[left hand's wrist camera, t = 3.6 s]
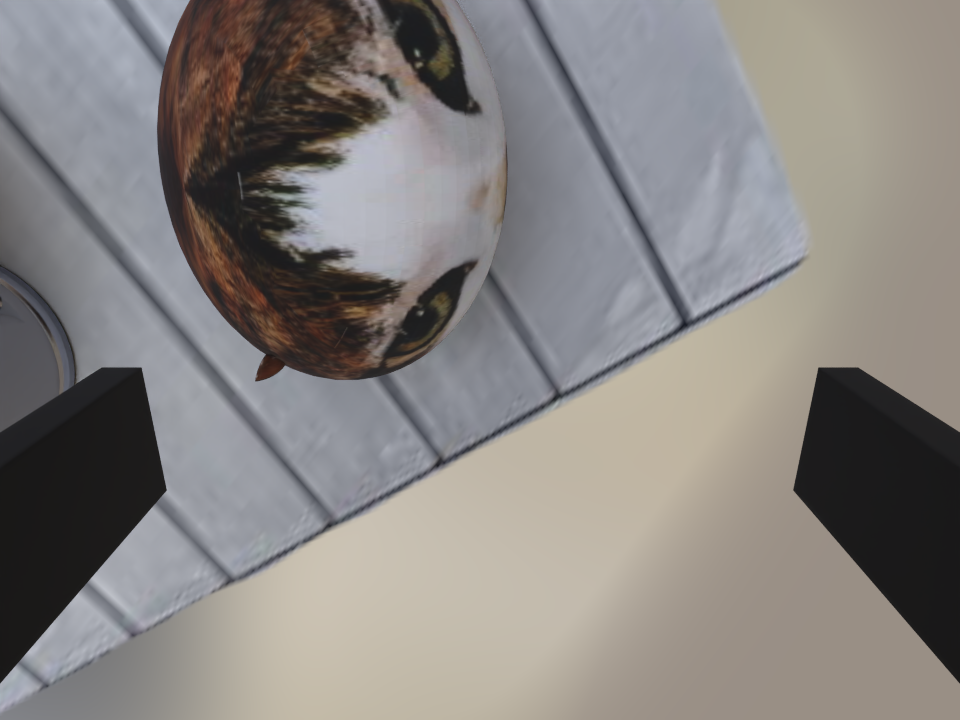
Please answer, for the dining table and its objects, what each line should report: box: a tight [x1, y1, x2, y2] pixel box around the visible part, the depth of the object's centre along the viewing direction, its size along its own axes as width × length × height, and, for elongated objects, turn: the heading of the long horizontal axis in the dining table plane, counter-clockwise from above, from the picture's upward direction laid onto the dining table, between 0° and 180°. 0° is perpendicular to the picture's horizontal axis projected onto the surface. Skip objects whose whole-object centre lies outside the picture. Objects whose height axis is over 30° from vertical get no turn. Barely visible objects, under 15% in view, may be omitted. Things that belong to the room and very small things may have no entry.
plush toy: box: [157, 0, 507, 381], centre depth 34 cm, size 22×18×20 cm
